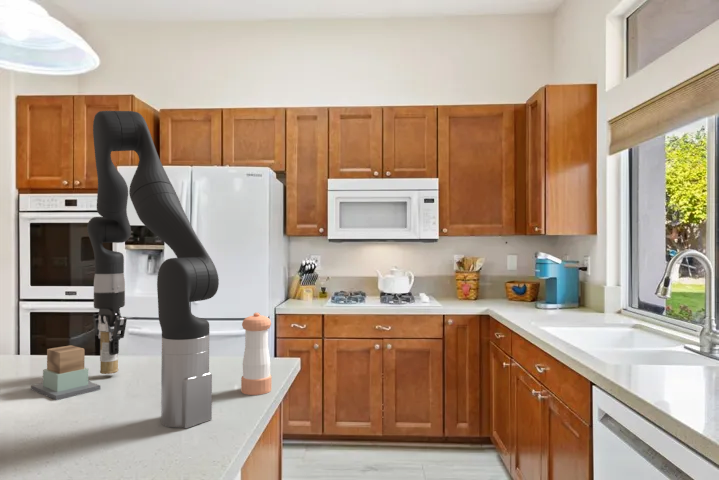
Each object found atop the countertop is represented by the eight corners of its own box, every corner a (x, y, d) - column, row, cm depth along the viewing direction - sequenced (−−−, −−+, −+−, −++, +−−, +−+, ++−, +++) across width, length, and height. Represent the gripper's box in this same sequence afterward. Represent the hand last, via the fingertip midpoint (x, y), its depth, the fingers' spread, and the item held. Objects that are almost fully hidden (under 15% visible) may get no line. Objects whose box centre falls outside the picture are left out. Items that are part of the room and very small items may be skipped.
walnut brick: (84, 368, 118) (84, 348, 119) (59, 373, 114) (60, 352, 114) (71, 364, 123) (71, 345, 123) (47, 369, 118) (47, 349, 118)
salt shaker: (277, 390, 118) (277, 312, 118) (252, 397, 112) (252, 315, 113) (260, 384, 123) (260, 309, 123) (235, 390, 117) (235, 312, 118)
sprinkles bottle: (104, 370, 132) (104, 321, 132) (121, 370, 132) (121, 321, 132) (96, 375, 127) (96, 324, 127) (114, 374, 128) (114, 324, 128)
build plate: (100, 389, 118) (100, 369, 118) (56, 400, 110) (56, 378, 110) (74, 380, 126) (74, 361, 126) (30, 389, 118) (31, 369, 118)
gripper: (82, 290, 131) (82, 352, 131) (108, 292, 123) (108, 359, 122) (110, 288, 137) (109, 347, 137) (136, 290, 129) (136, 353, 129)
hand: (109, 352), depth 130 cm, fingers closed on sprinkles bottle, 4 cm apart
